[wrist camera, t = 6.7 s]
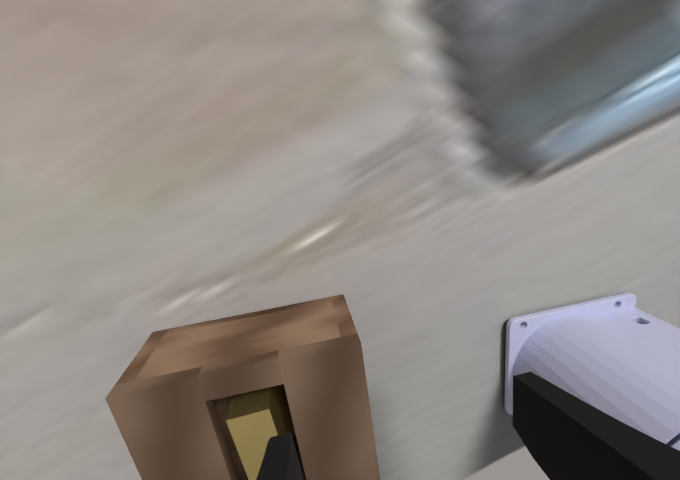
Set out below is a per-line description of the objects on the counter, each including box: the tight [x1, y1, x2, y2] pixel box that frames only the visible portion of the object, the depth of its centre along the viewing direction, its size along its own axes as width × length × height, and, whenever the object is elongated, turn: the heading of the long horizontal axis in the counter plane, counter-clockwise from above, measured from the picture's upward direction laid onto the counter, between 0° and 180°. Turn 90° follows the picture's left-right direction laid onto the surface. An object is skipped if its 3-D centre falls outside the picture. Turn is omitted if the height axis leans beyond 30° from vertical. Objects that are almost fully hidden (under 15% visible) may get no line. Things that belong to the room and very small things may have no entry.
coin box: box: [105, 295, 380, 480], centre depth 18 cm, size 11×10×5 cm
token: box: [226, 384, 293, 480], centre depth 18 cm, size 2×5×4 cm, turn 11°
